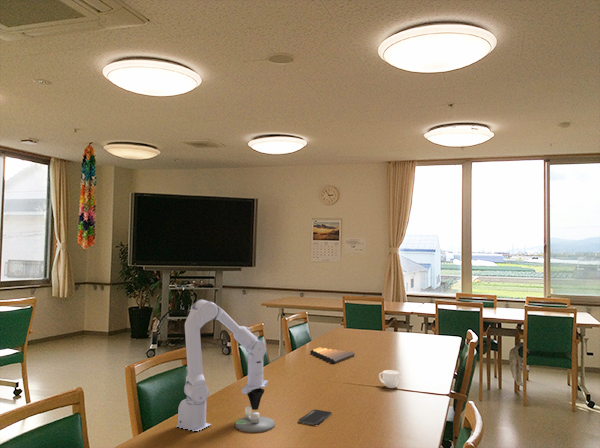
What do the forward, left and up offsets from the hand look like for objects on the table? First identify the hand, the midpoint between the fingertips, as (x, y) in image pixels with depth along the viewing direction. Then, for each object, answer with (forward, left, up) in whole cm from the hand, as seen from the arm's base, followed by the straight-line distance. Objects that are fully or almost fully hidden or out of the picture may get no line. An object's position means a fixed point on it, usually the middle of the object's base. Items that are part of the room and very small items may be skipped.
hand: (254, 409), depth 187 cm
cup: (+29, +68, -3) cm, 74 cm away
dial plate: (+5, -7, -3) cm, 9 cm away
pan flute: (-23, +109, -4) cm, 112 cm away
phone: (+20, +11, -4) cm, 23 cm away
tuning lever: (+3, -6, -2) cm, 7 cm away
